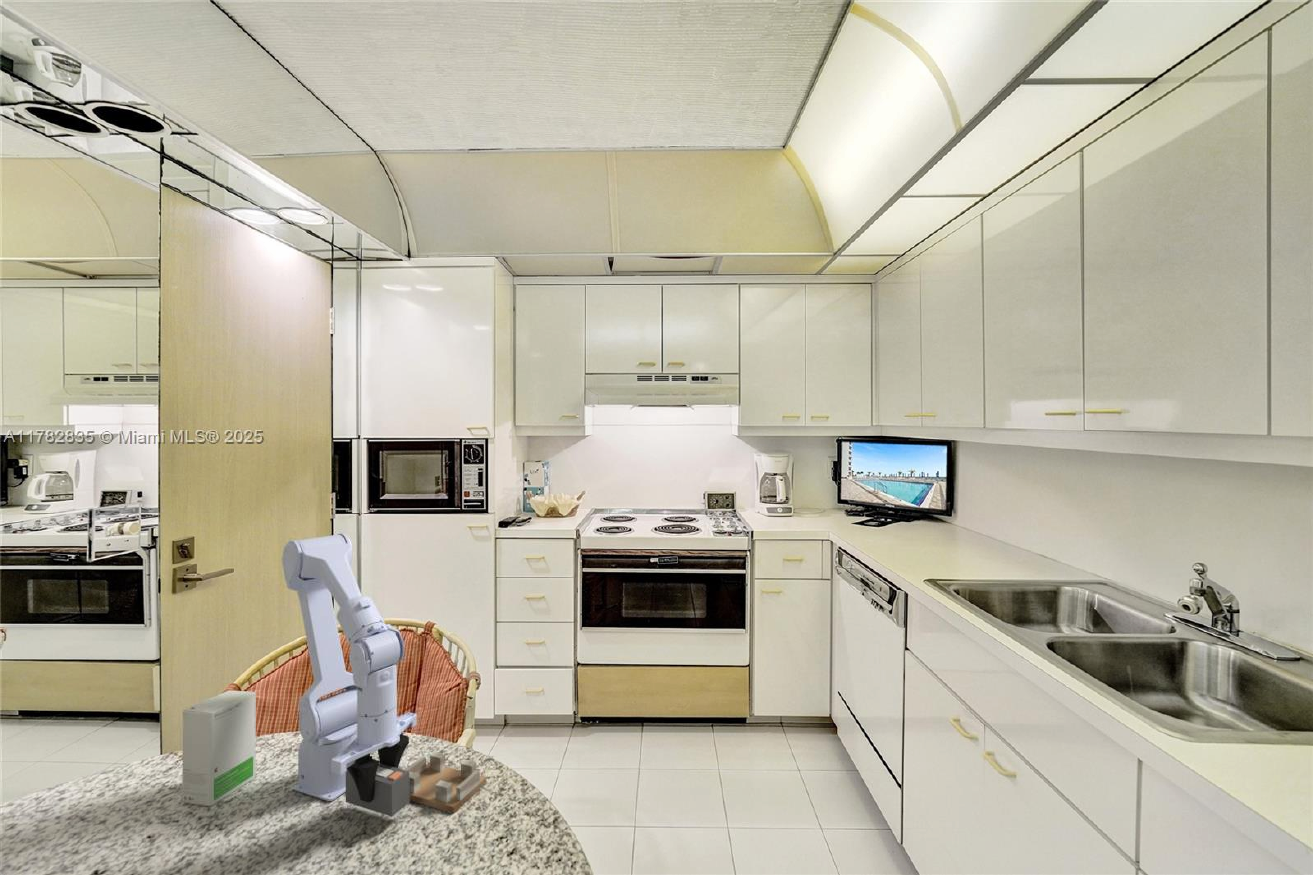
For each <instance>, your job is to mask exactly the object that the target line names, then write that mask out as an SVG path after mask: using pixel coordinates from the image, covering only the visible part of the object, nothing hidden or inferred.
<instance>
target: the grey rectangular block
mask: <svg viewBox="0 0 1313 875" xmlns="http://www.w3.org/2000/svg"><path fill="white" fill-rule="evenodd" d="M345 802H346V803H347V804H350V805H354V806H357V807H360V808H363V809H367V810H369V811H371V812H372V811H373V812H375V813H379V814H381V815H385V816H387V817H388V816H389V817H391V818H392V817H393V816H395V815H396V814H398V813H399V812H400V811H401V810H402V809H404V808H405V807H406V806H408V804H409V803H410V800H409V771H406V770H405V769H402V768H399V767H398V768H395V767H391V766H388V765H384V764H380V763H379V765H378V768H377V772H376V777H375V792H374V798H373V801H371V802H370V803H368V802H365V801H362V800H360V796H359V793H358V789H357V787H356V784H355V782H354V780H353V778H352V776H351V774H350V773H349V771H348V770H347V771H346V792H345Z"/></svg>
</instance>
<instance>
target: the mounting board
mask: <svg viewBox="0 0 1313 875" xmlns="http://www.w3.org/2000/svg"><path fill="white" fill-rule="evenodd" d="M404 770H406V771H409V802H414V803H418V804H422V805H424V806H428V807H431V808H435V809H437V810H441V811H444V812H448V813H451V814H455V813H456V812H457V811H459V809H461V807H462V806H464V805H465V804H466V803H467V802H468V801H469V800H470V799H471V798H472V797H473V796H474V795H475V794H476V793H477V792H479V790H481V788H483V787H484V785H486V783H487V777H486V776H483V775H481V774H480V770H477V762H476V761H472V760H469V759H465V760H463V761H462V762H460V769H456V768H452V767H449V766H446V754H445V753H441V752H437V751H434V752H433V753H431V754H430V755H429V762H427V757H426V756H422V757H420V758H419V759H418V760H416V761H415V762H413V763H412V764H411V765H410V766H408V767H407V768H406V769H404Z"/></svg>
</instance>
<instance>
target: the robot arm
mask: <svg viewBox="0 0 1313 875" xmlns="http://www.w3.org/2000/svg"><path fill="white" fill-rule="evenodd" d="M352 561H353V543H352V541H351V538H350V537H349V536H348V535H347V534H346V533H344V532H341V533H338V534H333V535H326V536H325V535H324V536H319V537H311V538H305V539H298V540H296V539H291V540H288V542H287V543H286V544H285V546H284V548H283V551H282V558H281V563H282V569H283V574H284V580H285V583H286V586H287V589H288V590H291V591H295V592H296V593H297V596H298V600H299V604H300V609H301V610H300V612H301V616H302V620H303V626H304V627H303V628H304V632H305V639H306V643H307V649H308V655H309V659H310V665H311V671H312V676H313V682H312V684H311V685H310V686H309V688H307V690H306V691H305V692H303V695H302V696H301V697H300V699H299V701H298V713H299V715H298V728H299V732H300V735H301V738H302V739H301V742H300V744H299V747H298V751H297V757H298V758H297V765H298V768H297V770H298V771H297V772H298V773H297V778H298V779H297V780H298V781H297V784H294V786H293V789H292V790H294V791H297V792H300V793H303V794H306V795H307V796H308V795H309V796H311V797H315V798H317V799H321V800H324V801H327V802H332V801H334V800H335V799H337V798H338V797H340V796H341V795H342V794H344V793H346V771H347V770H348V771H349V773H350V774H351V776H352V778H353V780H354V782H355V784H356V787H357V789H358V793H359V796H360V800H362V801H365V802H368V803H370V802H371V801H373V798H374V792H375V777H376V772H377V768H378V765H379V763H380V764H384V765H388V766H391V767H395V768H398V769H399V767H400V763H401V760H402V757H403V755H404V753H405V750H406V749H407V747H408V745H409V743H410V737H409V736H408V735H406V734H405V735H404V731H406V730H407V729H409V728H412V729H413V728H414V727H416V726H417V725H418V724H417V723H418V720H417V718H418V715H417V713H414V712H409V711H408V712H407V713H405V714H402V715H400V716H398V710H397V709H398V704H397V703H398V701H397V700H398V699H397V698H398V690H397V689H398V687H397V684H398V682H397V681H398V675H397V674H398V672H397V670H398V669H397V666H398V665H397V664H398V663H401V661H402V660H403V659H404V656H405V655H404V654H405V643H404V639H403V637H402V634H401V632H400V631H399V630H398V629H397V628H396V627H393V626H392V624H389V623H386V622H385V621H384V619H383V617H382V615H381V614H380V611H379V609H378V608H377V605H376V604H375V602H374V601H373V599H372V598H371V597H369V596H363V594H362V592H361V589H360V587H359V584H358V582H357V580H356V578H355V575H354V572H353V570H352V566H351V565H352ZM332 599H334V601H335V602H336V604H337V605H338V606H339V609H338V611H337V613H335V610H334V605H333V604H334V603H333V600H332ZM337 622H338V624H339V626H340V628H341V630H342V632H343V634H344V636H345V639H346V640H347V642H348V644H349V646H350V651H349V655H348V656H349V658H348V660H349V663H350V667H351V670H352V673H351V672H348V671H347V669H346V665H345V660H344V659H345V658H344V654H343V650H342V644H341V640H340V634H339V628H338V624H337ZM341 690H344V691H341ZM337 691H340V692H339V693H336V692H337ZM332 693H336V694H333V695H330V696H328V697H324V696H327V695H329V694H332ZM322 697H324V698H323V699H320V698H322ZM319 699H320V700H319ZM376 751H377V754H378V760H377V759H374V758H373V755H371V754H372V753H374V752H376Z"/></svg>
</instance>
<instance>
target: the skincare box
mask: <svg viewBox="0 0 1313 875" xmlns="http://www.w3.org/2000/svg"><path fill="white" fill-rule="evenodd" d="M256 694H257V692H255V691H244V690H226V691H225V692H223V693H220V694H218V695H215V696H213V697H210V698H207V699H204V700H202V701H201V702H198V703H196V704H195V705H192V706H190V707H188V708H185V709H183V710H182V772H181V773H182V782H181V783H182V784H181V785H182V788H181V802H182V803H185V804H191V805H198V806H204V807H212V806H214V805H215V804H217V803H218V802H220V801H222V800H223V799H225V798H226V797H227V796H230V795H231V794H232V793H234V792H235V791H237V790H239V789H240V788H242V787H243V786H245V785H247V784H248V783H249V782H251V781H253V780H254V779H256V776H257V774H256V770H257V769H256V758H257V756H256V728H257V727H256V724H257V723H256V718H257V717H256V716H257V715H256V714H257V713H256V712H257V710H256V709H257V706H256V704H257V702H256V701H257V700H256V698H257V695H256Z"/></svg>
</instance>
